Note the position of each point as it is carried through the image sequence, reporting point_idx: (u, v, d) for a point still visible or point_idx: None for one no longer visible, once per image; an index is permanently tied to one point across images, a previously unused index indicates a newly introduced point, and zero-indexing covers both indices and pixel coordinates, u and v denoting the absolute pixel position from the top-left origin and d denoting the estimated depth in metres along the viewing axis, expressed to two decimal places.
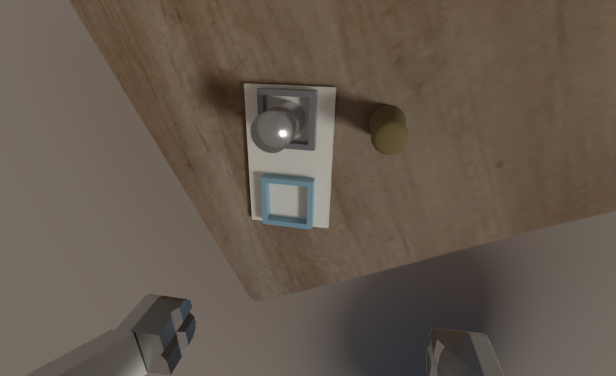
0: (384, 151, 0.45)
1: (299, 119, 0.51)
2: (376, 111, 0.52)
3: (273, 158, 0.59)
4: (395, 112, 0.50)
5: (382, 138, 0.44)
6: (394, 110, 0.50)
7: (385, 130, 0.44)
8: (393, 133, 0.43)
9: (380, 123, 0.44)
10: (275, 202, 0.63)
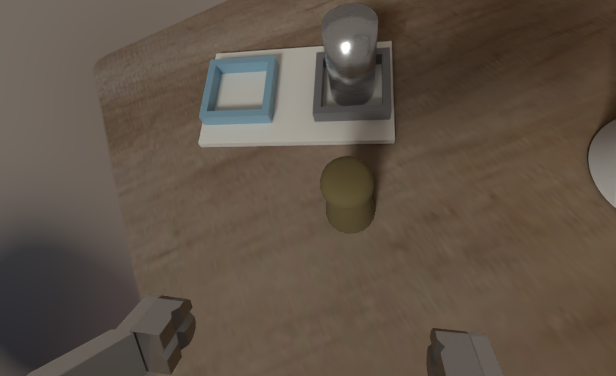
0: (326, 172, 0.30)
1: (357, 86, 0.39)
2: None
3: (299, 74, 0.46)
4: (370, 209, 0.35)
5: (347, 166, 0.29)
6: (372, 210, 0.36)
7: (359, 169, 0.29)
8: (355, 180, 0.29)
9: (367, 165, 0.30)
10: (239, 79, 0.48)
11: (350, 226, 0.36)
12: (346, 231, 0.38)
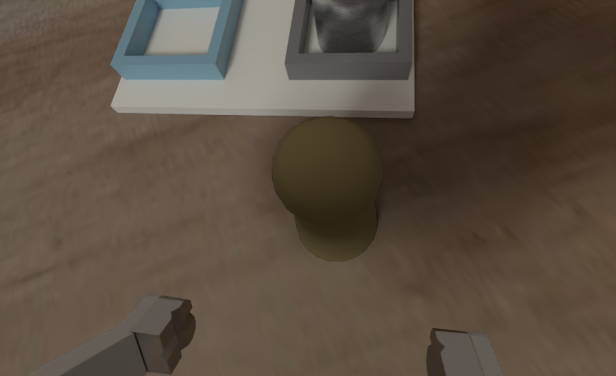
0: (284, 145, 0.14)
1: (358, 17, 0.23)
2: None
3: (273, 11, 0.31)
4: (371, 223, 0.20)
5: (327, 133, 0.14)
6: (372, 225, 0.21)
7: (353, 140, 0.14)
8: (344, 163, 0.13)
9: (370, 136, 0.15)
10: (184, 17, 0.32)
11: (333, 251, 0.20)
12: (326, 258, 0.22)
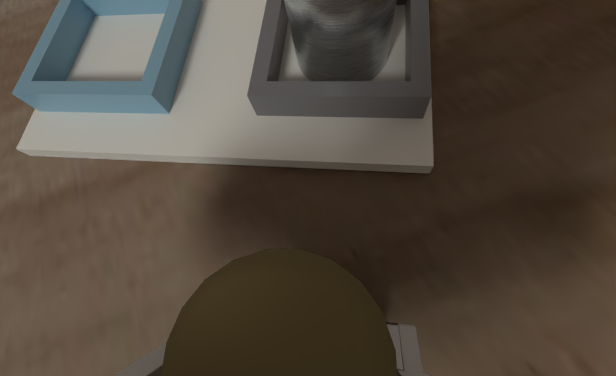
0: (181, 333, 0.06)
1: (352, 31, 0.16)
2: None
3: (240, 20, 0.23)
4: None
5: (274, 317, 0.06)
6: None
7: (332, 341, 0.06)
8: None
9: (371, 303, 0.07)
10: (124, 26, 0.24)
11: None
12: None
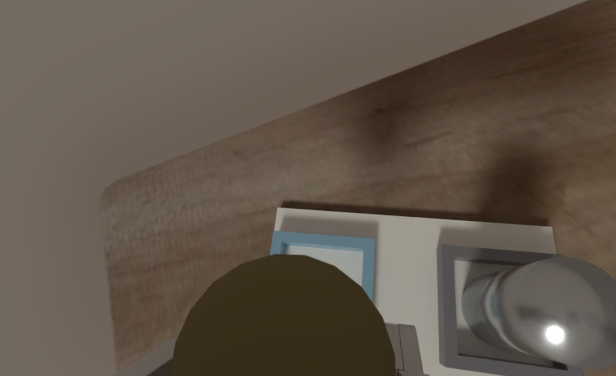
0: (190, 334, 0.07)
1: None
2: None
3: (408, 265, 0.31)
4: None
5: (279, 321, 0.06)
6: None
7: (334, 344, 0.06)
8: None
9: (372, 309, 0.07)
10: None
11: None
12: None
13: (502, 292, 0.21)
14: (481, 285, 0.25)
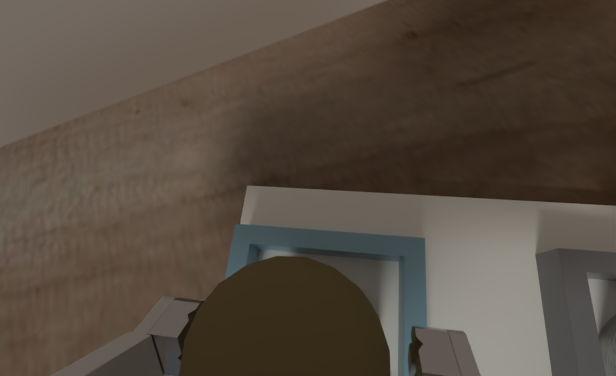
0: (199, 331, 0.07)
1: None
2: None
3: (484, 287, 0.16)
4: None
5: (281, 320, 0.07)
6: None
7: (332, 341, 0.07)
8: None
9: (368, 308, 0.08)
10: None
11: None
12: None
13: None
14: None
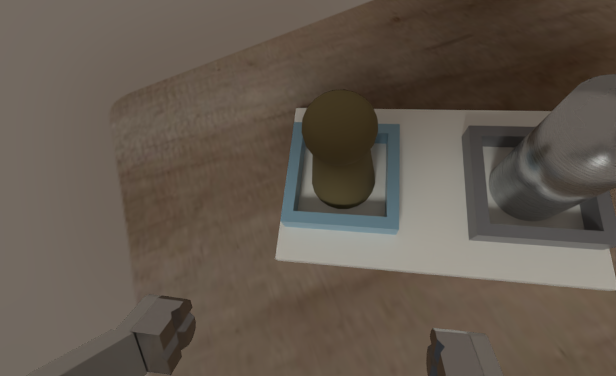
0: (311, 108, 0.21)
1: (574, 205, 0.23)
2: None
3: (433, 153, 0.30)
4: (369, 175, 0.26)
5: (341, 100, 0.20)
6: (371, 178, 0.27)
7: (358, 105, 0.20)
8: (352, 119, 0.20)
9: (370, 104, 0.21)
10: None
11: (341, 197, 0.27)
12: (335, 205, 0.29)
13: (544, 127, 0.20)
14: (514, 149, 0.25)
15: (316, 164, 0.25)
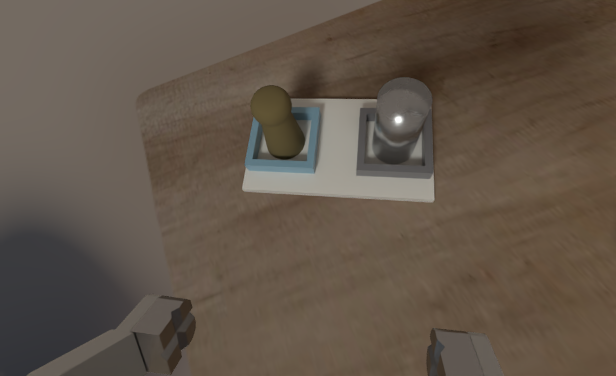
0: (254, 95, 0.39)
1: (403, 149, 0.41)
2: None
3: (341, 126, 0.48)
4: (296, 136, 0.45)
5: (270, 90, 0.39)
6: (298, 139, 0.45)
7: (278, 93, 0.38)
8: (274, 100, 0.38)
9: None
10: None
11: (280, 150, 0.45)
12: (279, 157, 0.47)
13: None
14: None
15: (262, 128, 0.43)
